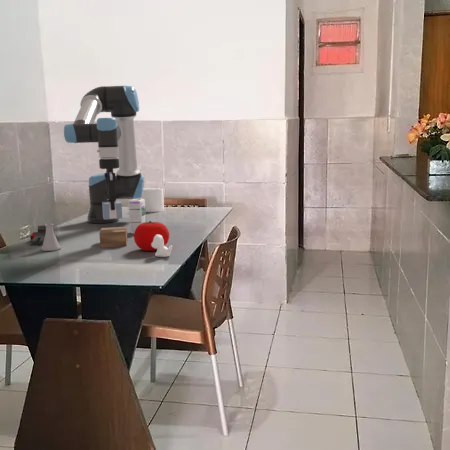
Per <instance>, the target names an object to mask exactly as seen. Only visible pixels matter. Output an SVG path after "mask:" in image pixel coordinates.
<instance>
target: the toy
mask: <svg viewBox="0 0 450 450" xmlns="http://www.w3.org/2000/svg"><path fill="white" fill-rule="evenodd" d="M45 224H46V223H45ZM45 224H38V225H37V231H33V232H32V233H31V235H29V239H30V245H31V246H37V245H38V246H43V242H44V239H45V235H46V226H45ZM53 231H54V234H55V227H54V225H53ZM55 235H56V234H55Z"/></svg>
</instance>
